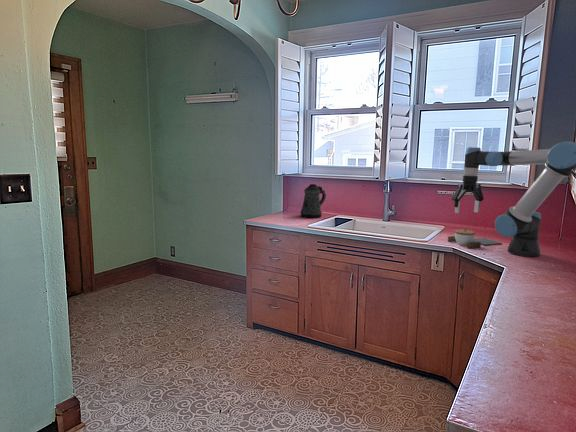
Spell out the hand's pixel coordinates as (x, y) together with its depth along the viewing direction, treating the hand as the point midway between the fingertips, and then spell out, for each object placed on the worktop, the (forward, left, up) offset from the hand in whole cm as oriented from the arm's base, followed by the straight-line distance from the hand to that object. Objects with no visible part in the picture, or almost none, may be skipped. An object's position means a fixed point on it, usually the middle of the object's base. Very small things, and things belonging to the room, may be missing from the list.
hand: (466, 212), depth 226 cm
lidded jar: (0, 0, -19) cm, 19 cm away
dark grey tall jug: (+104, +53, -19) cm, 118 cm away
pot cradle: (0, 0, -19) cm, 19 cm away
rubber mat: (+1, -16, -19) cm, 25 cm away
